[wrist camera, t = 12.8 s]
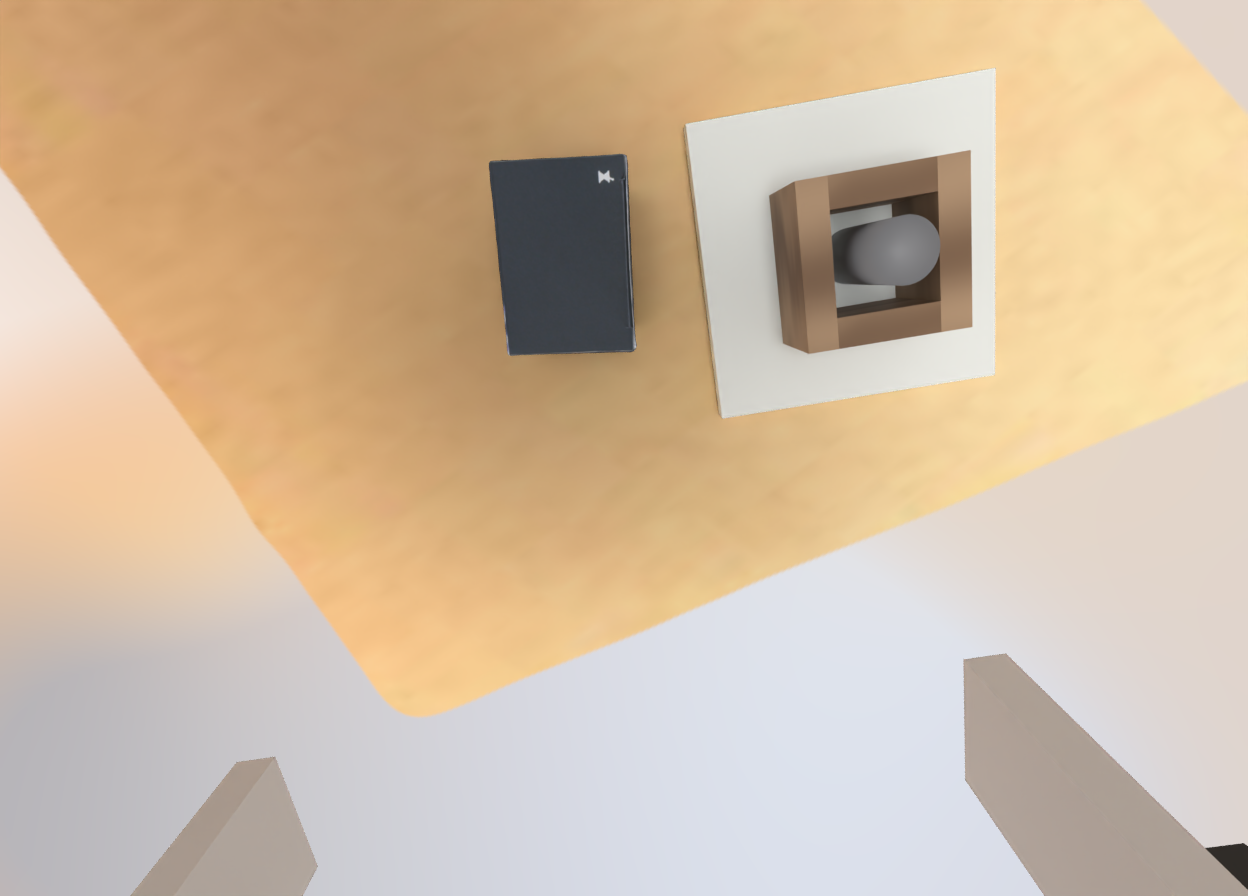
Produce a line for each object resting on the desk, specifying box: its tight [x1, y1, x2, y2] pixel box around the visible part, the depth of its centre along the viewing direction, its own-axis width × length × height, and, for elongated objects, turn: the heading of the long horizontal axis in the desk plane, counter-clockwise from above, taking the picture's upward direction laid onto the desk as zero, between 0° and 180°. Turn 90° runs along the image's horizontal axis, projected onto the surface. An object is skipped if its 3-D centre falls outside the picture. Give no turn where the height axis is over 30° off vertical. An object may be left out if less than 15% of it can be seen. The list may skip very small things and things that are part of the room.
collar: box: [769, 150, 972, 354], centre depth 31 cm, size 8×8×5 cm
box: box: [489, 154, 637, 356], centre depth 30 cm, size 8×6×11 cm
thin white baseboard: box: [684, 68, 995, 419], centre depth 31 cm, size 16×16×8 cm
